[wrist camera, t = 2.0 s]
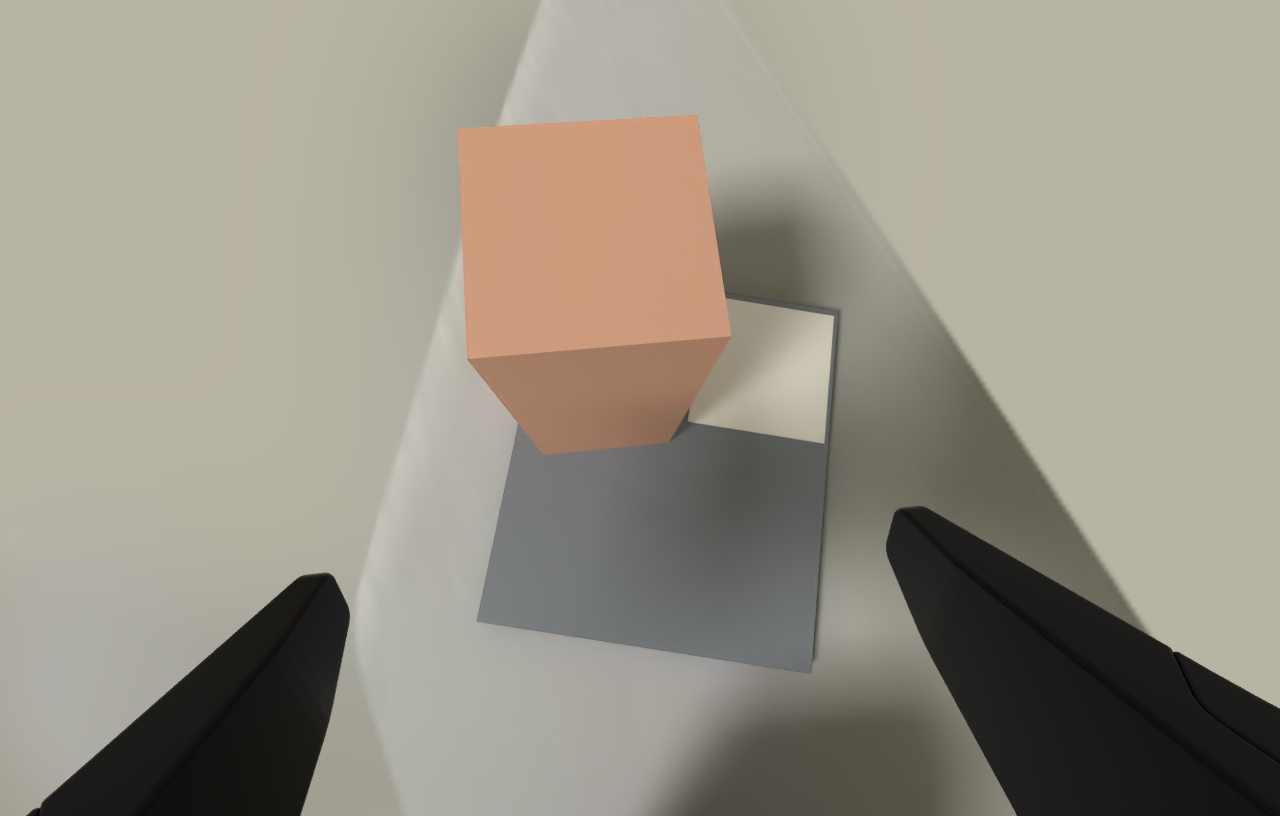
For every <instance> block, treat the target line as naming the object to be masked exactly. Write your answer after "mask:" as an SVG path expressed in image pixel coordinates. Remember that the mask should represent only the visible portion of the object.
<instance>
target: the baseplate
mask: <svg viewBox="0 0 1280 816" xmlns="http://www.w3.org/2000/svg"><path fill="white" fill-rule="evenodd" d="M725 298H726V305H727V311H728V317H729V324H730V330H731V338H730V339H729V341H728V343H727V345H726V346H725V348H724V350H723V351H722V353H721V355H720V356H719V358H718V360H717V362H716V363H715V365H714V367H713V368H712V370H711V372H710V373H709V375H708V377H707V379H706V380H705V382H704V384H703V385H702V387H701V389H700V390H699V392H698V394H697V396H696V397H695V399H694V401H693V402H692V404H691V406H690V407H689V409H688V411H687V413H686V414H685V416H684V418H683V419H682V421H681V423H680V424H679V426H678V428H677V430H676V431H675V433H674V435H673V436H672V438H671V440H670V441H669V443H660V444H650V445H640V446H630V447H620V448H610V449H600V450H590V451H580V452H570V453H560V454H550V455H543V454H542V452H541V451H540V450H539V449H538V447H537V446H536V445H535V444H534V442H533V441H532V440H531V439H530V437H529V436H528V435H527V434H526V432H525V431H524V430H523V429H522V427H521V426H520V425H519V424H518V427H517V432H516V437H515V442H514V446H513V451H512V456H511V461H510V465H509V470H508V475H507V480H506V484H505V489H504V494H503V499H502V503H501V508H500V513H499V518H498V522H497V527H496V532H495V537H494V541H493V546H492V551H491V556H490V560H489V565H488V570H487V575H486V579H485V584H484V589H483V594H482V598H481V603H480V608H479V613H478V617H477V622H483V623H489V624H496V625H502V626H508V627H515V628H521V629H528V630H534V631H541V632H547V633H553V634H560V635H566V636H573V637H579V638H585V639H592V640H598V641H605V642H611V643H617V644H624V645H630V646H637V647H643V648H649V649H656V650H662V651H669V652H675V653H681V654H688V655H694V656H701V657H707V658H713V659H720V660H726V661H733V662H739V663H746V664H752V665H758V666H765V667H771V668H778V669H784V670H790V671H797V672H803V673H810V674H811V670H812V656H813V643H814V629H815V616H816V602H817V589H818V575H819V562H820V549H821V535H822V522H823V508H824V495H825V481H826V468H827V454H828V441H829V427H830V414H831V401H832V387H833V374H834V360H835V347H836V333H837V320H838V311H833V310H827V309H821V308H815V307H809V306H803V305H797V304H791V303H785V302H779V301H772V300H766V299H760V298H754V297H748V296H742V295H736V294H730V293H725Z"/></svg>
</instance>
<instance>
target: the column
mask: <svg viewBox="0 0 1280 816" xmlns="http://www.w3.org/2000/svg"><path fill="white" fill-rule="evenodd" d="M458 144H459V145H458V146H459V171H460V194H461V195H460V196H461V220H462V244H463V269H464V293H465V317H466V342H467V359H468V361H469V362H470V363H471V364H472V366H473V367H474V368H475V369H476V371H477V372H478V373H479V375H480V376H481V377H482V378H483V380H484V381H485V382H486V383H487V385H488V386H489V387H490V388H491V390H492V391H493V392H494V393H495V395H496V396H497V397H498V398H499V400H500V401H501V402H502V403H503V405H504V406H505V407H506V408H507V410H508V411H509V412H510V413H511V415H512V416H513V417H514V419H515V420H516V421H517V422H518V424H519V425H520V426H521V427H522V429H523V430H524V431H525V432H526V434H527V435H528V436H529V437H530V439H531V440H532V441H533V442H534V444H535V445H536V446H537V447H538V449H539V450H540V451H541V452H542V454H543V455H550V454H560V453H570V452H580V451H590V450H600V449H610V448H620V447H630V446H640V445H650V444H660V443H669V441H670V440H671V438H672V436H673V435H674V433H675V431H676V430H677V428H678V426H679V424H680V423H681V421H682V419H683V418H684V416H685V414H686V413H687V411H688V409H689V407H690V406H691V404H692V402H693V401H694V399H695V397H696V396H697V394H698V392H699V390H700V389H701V387H702V385H703V384H704V382H705V380H706V379H707V377H708V375H709V373H710V372H711V370H712V368H713V367H714V365H715V363H716V362H717V360H718V358H719V356H720V355H721V353H722V351H723V350H724V348H725V346H726V345H727V343H728V341H729V339H730V338H731V330H730V324H729V317H728V311H727V305H726V298H725V292H724V285H723V279H722V272H721V266H720V259H719V253H718V246H717V240H716V233H715V227H714V221H713V214H712V208H711V201H710V195H709V188H708V182H707V175H706V169H705V162H704V156H703V149H702V143H701V136H700V130H699V124H698V117H697V115H688V116H670V117H652V118H635V119H617V120H599V121H582V122H564V123H546V124H529V125H511V126H493V127H476V128H458Z"/></svg>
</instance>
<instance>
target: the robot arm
mask: <svg viewBox="0 0 1280 816" xmlns="http://www.w3.org/2000/svg"><path fill="white" fill-rule="evenodd" d="M886 551H887V556H888V559H889V562H890V564H891V566H892V569H893V571H894V574H895V576H896V578H897V581H898V583H899V586H900V588H901V590H902V593H903V595H904V598H905V600H906V602H907V605H908V607H909V610H910V612H911V614H912V617H913V619H914V622H915V624H916V626H917V629H918V631H919V633H920V635H921V638H922V640H923V642H924V644H925V646H926V648H927V650H928V652H929V654H930V656H931V658H932V660H933V661H934V663H935V665H936V667H937V669H938V671H939V673H940V674H941V676H942V678H943V680H944V682H945V684H946V685H947V687H948V689H949V691H950V693H951V695H952V696H953V698H954V700H955V702H956V704H957V706H958V707H959V709H960V711H961V713H962V715H963V717H964V719H965V720H966V722H967V724H968V726H969V728H970V730H971V731H972V733H973V735H974V737H975V739H976V741H977V742H978V744H979V746H980V748H981V750H982V752H983V753H984V755H985V757H986V759H987V761H988V763H989V765H990V766H991V768H992V770H993V772H994V774H995V776H996V777H997V779H998V781H999V783H1000V785H1001V787H1002V788H1003V790H1004V792H1005V794H1006V796H1007V798H1008V799H1009V801H1010V803H1011V805H1012V807H1013V809H1014V811H1015V812H1016V814H1017V816H1280V708H1278V707H1276V706H1274V705H1272V704H1270V703H1268V702H1266V701H1264V700H1263V699H1261V698H1259V697H1257V696H1255V695H1254V694H1252V693H1250V692H1248V691H1246V690H1245V689H1243V688H1241V687H1239V686H1237V685H1235V684H1234V683H1232V682H1230V681H1228V680H1226V679H1225V678H1223V677H1221V676H1219V675H1218V674H1216V673H1214V672H1212V671H1210V670H1209V669H1207V668H1205V667H1203V666H1202V665H1200V664H1198V663H1197V662H1195V661H1193V660H1191V659H1190V658H1188V657H1186V656H1184V655H1183V654H1181V653H1179V652H1173V651H1172V649H1171V648H1170V647H1168V646H1167V645H1165V644H1163V643H1161V642H1160V641H1158V640H1156V639H1154V638H1153V637H1151V636H1149V635H1147V634H1146V633H1144V632H1142V631H1140V630H1139V629H1137V628H1135V627H1134V626H1132V625H1130V624H1128V623H1127V622H1125V621H1123V620H1121V619H1120V618H1118V617H1116V616H1114V615H1113V614H1111V613H1109V612H1107V611H1106V610H1104V609H1102V608H1100V607H1099V606H1097V605H1095V604H1093V603H1092V602H1090V601H1088V600H1086V599H1085V598H1083V597H1081V596H1079V595H1078V594H1076V593H1074V592H1073V591H1071V590H1069V589H1067V588H1066V587H1064V586H1062V585H1060V584H1059V583H1057V582H1055V581H1053V580H1052V579H1050V578H1048V577H1046V576H1045V575H1043V574H1041V573H1039V572H1038V571H1036V570H1034V569H1032V568H1031V567H1029V566H1027V565H1025V564H1024V563H1022V562H1020V561H1018V560H1017V559H1015V558H1013V557H1012V556H1010V555H1008V554H1006V553H1005V552H1003V551H1001V550H999V549H998V548H996V547H994V546H992V545H991V544H989V543H987V542H985V541H984V540H982V539H980V538H978V537H977V536H975V535H973V534H971V533H970V532H968V531H966V530H964V529H963V528H961V527H959V526H957V525H956V524H954V523H952V522H950V521H949V520H947V519H945V518H944V517H942V516H940V515H938V514H937V513H935V512H933V511H931V510H930V509H928V508H926V507H923V506H913V507H904V508H899V509H897V510H896V512H895V513H894V516H893V520H892V524H891V527H890V531H889V535H888V539H887V543H886ZM349 621H350V612H349V608H348V605H347V603H346V601H345V599H344V596H343V594H342V592H341V590H340V588H339V586H338V584H337V582H336V580H335V578H334V576H333V575H331V574H330V573H318V574H309V575H303V576H301V577H299V578H297V579H296V580H295V581H294V582H292V583H291V584H290V585H289V586H288V587H287V588H286V589H285V590H283V591H282V592H281V593H280V594H279V595H278V596H277V597H275V598H274V599H273V600H272V601H271V602H270V603H269V604H267V605H266V606H265V607H264V608H263V609H262V610H261V611H259V612H258V613H257V614H256V615H255V616H254V617H253V618H251V619H250V620H249V621H248V622H247V623H246V624H245V625H243V626H242V627H241V628H240V629H239V630H238V631H237V632H235V633H234V634H233V635H232V636H231V637H230V638H229V639H228V640H226V641H225V642H224V643H223V644H222V645H221V646H220V647H218V648H217V649H216V650H215V651H214V652H213V653H211V655H209V656H208V657H207V658H206V659H205V660H204V661H202V662H201V663H200V664H199V665H198V666H197V667H196V668H194V669H193V670H192V671H191V672H190V673H189V674H188V675H186V676H185V677H184V678H183V679H182V680H181V681H180V682H178V683H177V684H176V685H175V686H174V687H173V688H172V689H170V690H169V691H168V692H167V693H166V694H165V695H164V696H162V697H161V698H160V699H159V700H158V701H157V702H156V703H154V704H153V705H152V706H151V707H150V708H149V709H148V710H146V711H145V712H144V713H143V714H142V715H141V716H140V717H139V718H137V719H136V720H135V721H134V722H133V723H132V724H131V725H129V726H128V727H127V728H126V729H125V730H124V731H123V732H121V733H120V734H119V735H118V736H117V737H116V738H115V739H113V740H112V741H111V742H110V743H109V744H108V745H107V746H105V747H104V748H103V749H102V750H101V751H100V752H99V753H97V754H96V755H95V756H94V757H93V758H92V759H91V760H89V761H88V762H87V763H86V764H85V765H84V766H83V767H81V769H79V770H78V771H77V772H76V773H75V774H74V775H72V776H71V777H70V778H69V779H68V780H67V781H65V782H64V783H63V784H62V785H61V786H60V787H59V788H58V789H57V790H56V791H54V792H53V793H52V794H51V795H49V796H48V797H47V798H46V799H45V800H44V801H43V802H42V804H41V807H40V808H36V809H34V810H32V811H31V812H30V813H29V814H28V815H26V816H300V815H301V812H302V809H303V806H304V803H305V799H306V796H307V793H308V790H309V787H310V783H311V780H312V777H313V774H314V770H315V767H316V764H317V761H318V757H319V754H320V751H321V748H322V745H323V742H324V738H325V735H326V731H327V728H328V724H329V721H330V716H331V712H332V707H333V703H334V697H335V693H336V687H337V682H338V677H339V672H340V667H341V662H342V657H343V652H344V647H345V641H346V637H347V632H348V627H349Z"/></svg>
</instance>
